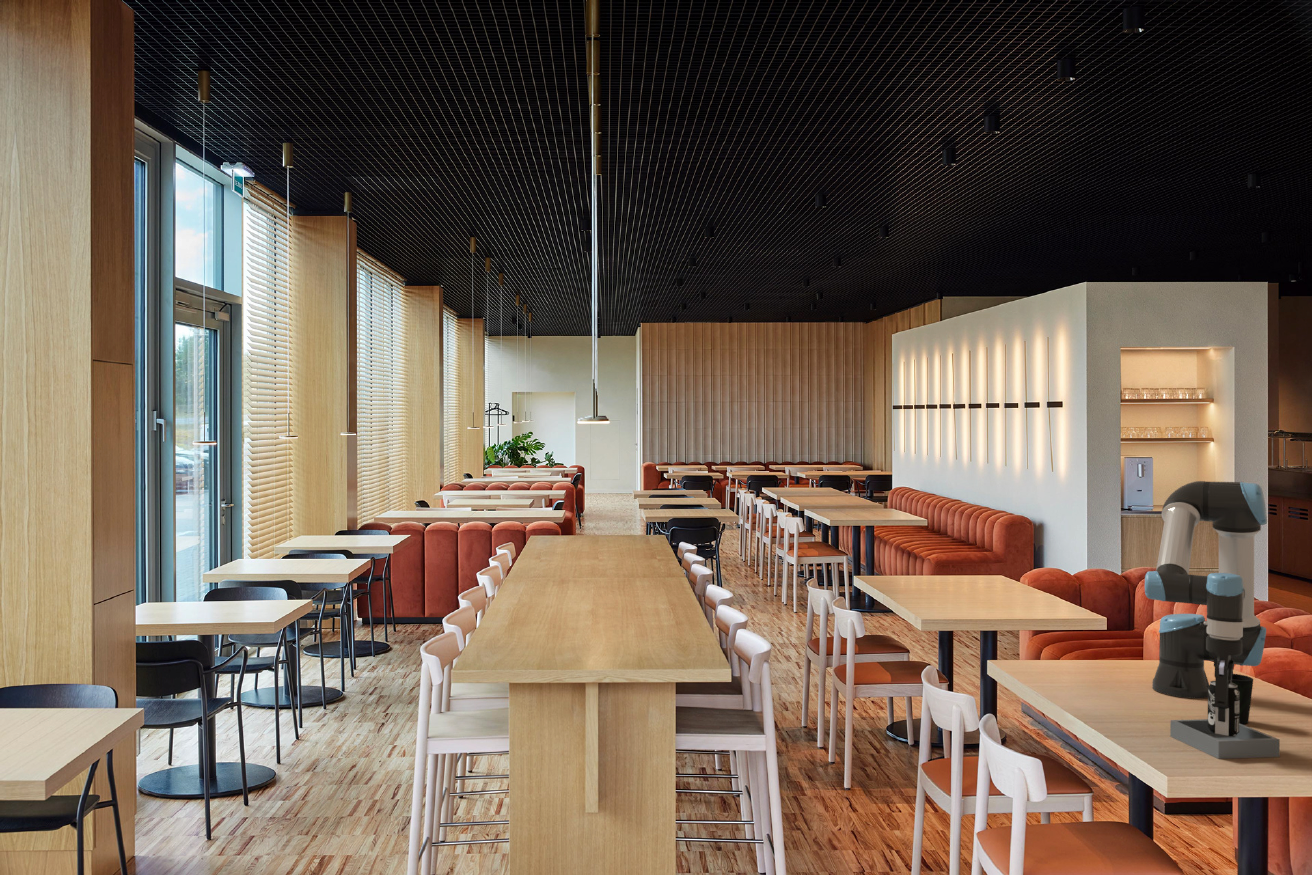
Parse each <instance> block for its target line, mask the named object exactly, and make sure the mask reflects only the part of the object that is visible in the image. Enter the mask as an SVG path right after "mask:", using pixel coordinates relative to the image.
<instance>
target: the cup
mask: <svg viewBox="0 0 1312 875" xmlns="http://www.w3.org/2000/svg"><path fill="white" fill-rule="evenodd" d="M1232 683H1234V684H1236V685H1237V686H1238V687H1237V688H1238V690H1239V692H1240V703H1239V723H1240V724H1242V725H1245V726H1247V725H1248V724H1249V720H1250V710H1251V703H1252V694H1253V688H1254V687H1253V686H1254V678H1253V677H1250V676H1248V675H1245V674H1244V675H1243V674H1240V673H1239V674H1238V673H1233V677H1232Z"/></svg>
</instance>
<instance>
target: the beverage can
mask: <svg viewBox="0 0 1312 875" xmlns="http://www.w3.org/2000/svg"><path fill="white" fill-rule="evenodd" d="M1237 687H1238V686H1237V685H1236V684H1234V683H1229V691H1228V708H1229V735H1228V736H1235V735H1237V734H1238V733H1239V703H1240V692H1239V690H1238V688H1237ZM1214 702H1215V680H1211V681H1209V687H1208V698H1207V719H1208V725H1207V727H1208V728H1209V729H1210V731H1211V732H1213V733H1215V707H1212V704H1214ZM1219 702H1221V701H1219ZM1219 735H1221V734H1219ZM1224 736H1226V735H1224Z"/></svg>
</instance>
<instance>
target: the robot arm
mask: <svg viewBox="0 0 1312 875" xmlns="http://www.w3.org/2000/svg"><path fill="white" fill-rule="evenodd" d="M1161 518H1162V520H1163V522H1164V523H1163V528H1162V535H1161V540H1160V546H1159V550H1158V551H1159V552H1158V557H1157V562H1156V567H1155V568H1156V569H1155V570H1150V571H1147V572H1146V573H1145V575H1144V595H1145V597H1146V598H1147V599H1148V600H1149V599H1150V600H1154V601H1161V602H1171V603H1181V604H1193V605H1201V606H1206V618H1205V616H1204V615H1203V614H1199V613H1198V614H1195V613H1173V614H1166V615H1165V616H1162V617H1161V619H1160V620H1159V629H1158V633H1159V649H1158V650H1159V651H1158V652H1159V653H1158V654H1159V655H1158V656H1159V658H1158V661H1159V662H1158V666H1157V669H1156V671H1155V674H1154V678H1152V681H1151V682H1152V683H1151V684H1152V689H1153V691H1156V692H1157V693H1161V694H1164V695H1166V696H1167V695H1168V696H1171V697H1177V698H1185V699H1208V687H1209V685H1210V681H1209V678H1208V676H1207V673H1206V671H1205V661H1207V662H1213V667H1214V674H1213V675H1214V678H1215V679H1214V681H1215V702H1214V704H1212V707H1215V734H1221V735H1226V736H1228V735H1229V708H1228V691H1229V683H1232V677H1233V674H1234V667H1235V665H1238V666H1241V667H1242V666H1247V667H1256V666H1257V667H1258V666H1259V665H1260V664H1261V663H1262V660H1263V654H1264V650H1265V649H1264V648H1265V642H1266V636H1267V628H1266V627H1265V626H1262V625H1261V620H1260V619H1259V617H1257V616H1256V615H1255V536H1256V535H1257V534H1258V533H1260V532H1261V530H1262V529H1261V528H1262V526H1264V525H1266V524H1267V522H1268V519H1267V518H1268V517H1267V510H1266V502H1265V498H1264V492H1263V488H1262V486H1260V485H1259V484H1257V483H1254V482H1245V481H1244V482H1243V481H1205V480H1199V481H1198V480H1197V481H1192V482H1189V483H1186V484H1184V485H1181V486H1180V487H1178V488H1177V489H1175V490H1174V491H1173V492H1171V494H1169V496H1168V497H1167V499H1165V502H1164V504H1163V505H1162V509H1161ZM1200 522H1208V523H1209V522H1212V526H1211V527H1212V530H1214V531H1215V532H1216V533H1217V534H1218V572H1211V573H1209V574H1208V575H1197V574H1190V566H1191V557H1192V549H1193V543H1194V542H1193V541H1194V537H1195V536H1194V534H1195V528H1196V526H1198V524H1199V523H1200ZM1219 701H1221V702H1219Z"/></svg>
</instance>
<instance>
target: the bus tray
mask: <svg viewBox="0 0 1312 875" xmlns="http://www.w3.org/2000/svg"><path fill="white" fill-rule="evenodd" d="M1207 725H1208V718H1205V719H1203V718H1202V719H1201V718H1200V719H1171V720H1170V737H1171V738H1173V739H1175V740H1176V741H1177V740H1178V741H1179V742H1181V743H1184V744H1186V745H1187V746H1190V747H1192V748H1194V749H1196V750H1199V751H1201V752H1203V753H1205V754H1207V755H1210V756H1212V757H1214V758H1216V759H1218V760H1221V759H1222V760H1223V759H1225V760H1226V759H1248V758H1249V759H1251V758H1279V757H1280V739H1279V738H1277V737H1275V736H1271V735H1269V734H1267V733H1265V732H1262V731H1259V730H1257V729H1254V728H1252V727H1249V726H1247V725H1242V724H1240V723H1239V733H1238V734H1237V735H1235V736H1224V735H1219V734H1215V733H1213V732H1211V731H1210V729H1209V728H1208V727H1207Z"/></svg>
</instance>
